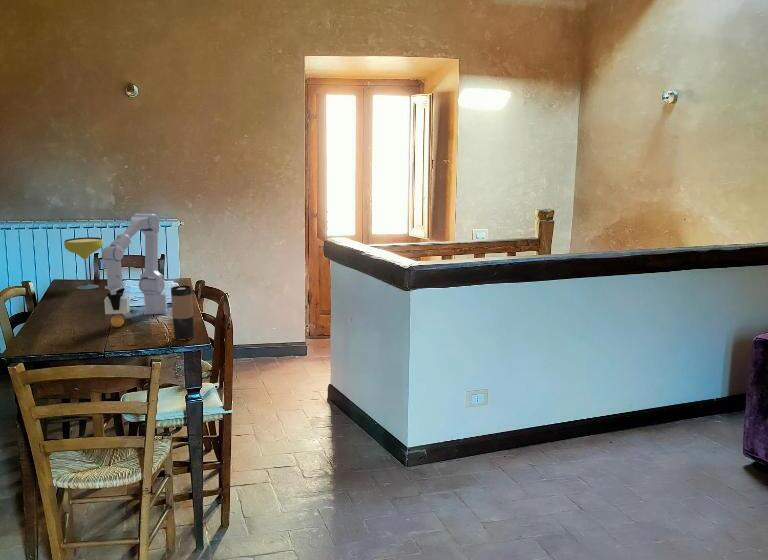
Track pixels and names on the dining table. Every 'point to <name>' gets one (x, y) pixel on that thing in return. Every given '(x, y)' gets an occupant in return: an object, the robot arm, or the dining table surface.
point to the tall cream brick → (122, 309)
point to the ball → (117, 321)
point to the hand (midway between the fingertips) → (117, 308)
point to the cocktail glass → (84, 252)
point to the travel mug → (182, 312)
